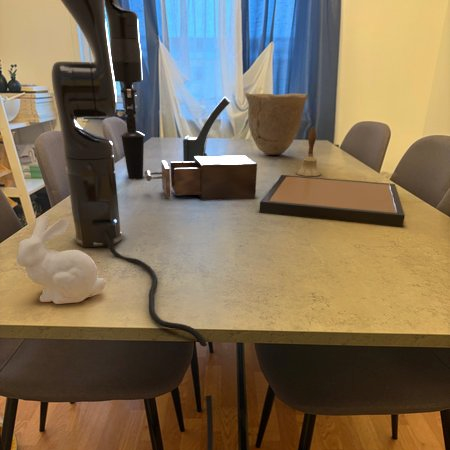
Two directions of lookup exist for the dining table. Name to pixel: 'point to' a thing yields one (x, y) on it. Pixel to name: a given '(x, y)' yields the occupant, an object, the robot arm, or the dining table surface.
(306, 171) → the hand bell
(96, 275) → the rabbit
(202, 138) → the dark grey curved piece
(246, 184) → the cabinet
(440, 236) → the dining table surface
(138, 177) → the drinking cup
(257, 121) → the clay pot
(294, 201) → the cork board
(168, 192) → the drawer
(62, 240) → the dining table surface
